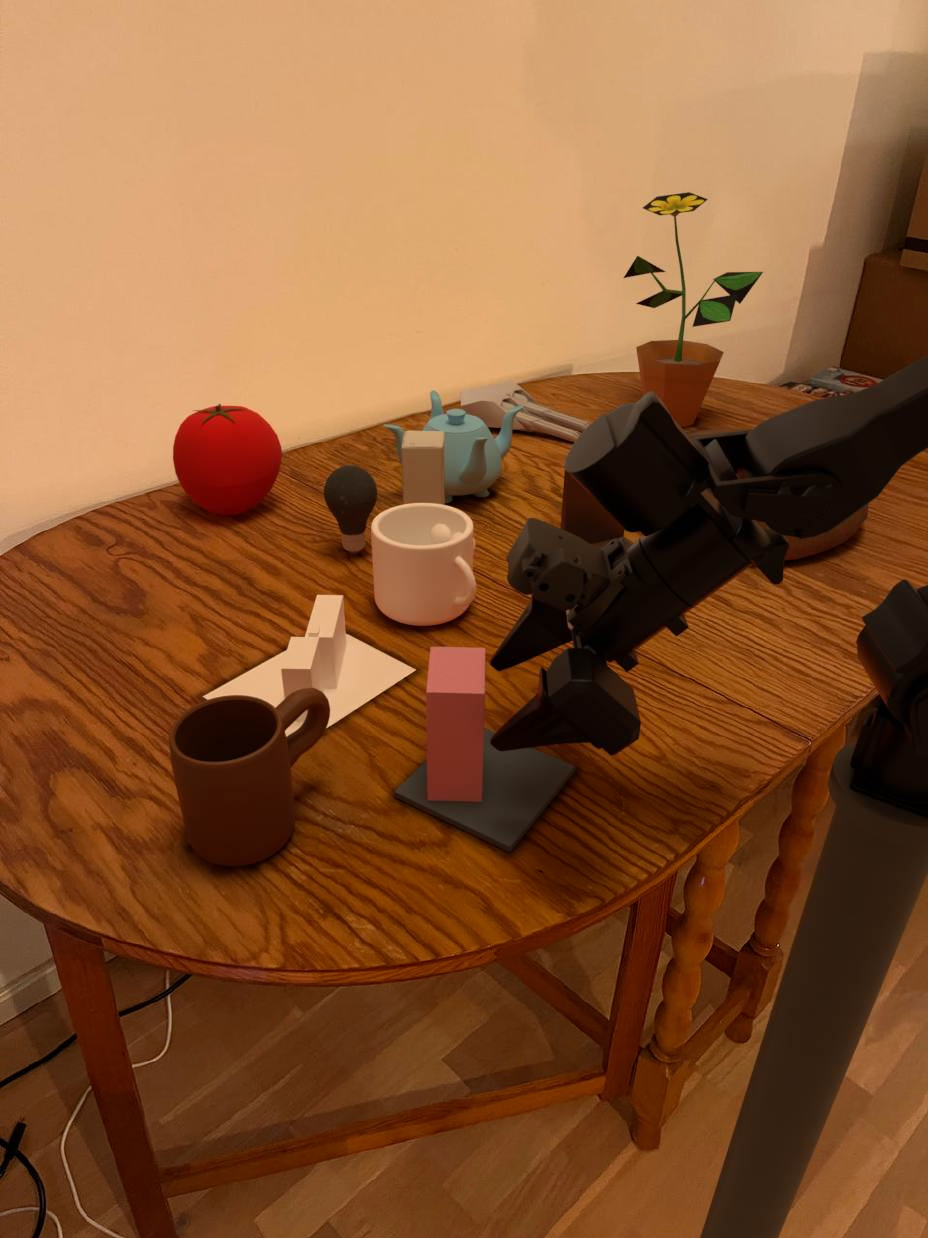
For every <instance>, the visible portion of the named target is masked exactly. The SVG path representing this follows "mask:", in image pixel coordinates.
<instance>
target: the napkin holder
mask: <svg viewBox="0 0 928 1238" xmlns="http://www.w3.org/2000/svg"><path fill="white" fill-rule="evenodd" d="M345 617H346V616H345V601H344V594H317V595H316V597H315V601H314V604H313V607H312V611H311V614H310V617H309V621H308V625H307V627H306V630H305V634H304V636H290V639H289V642H288V645H287V649H286V650H284V651H282V652H280V653H278V654H277V655H275V656H273V657H271V658H269V659H267V660H266V661H264V662H262V663H260V664H259V665H257V666H255V667H252V669H249V670H247V671H246V672H244V673H242V674H240V675H239V676H237V677H235V678H233V679H232V680H230V681H227V682H226V683H225V684H222V685H221V686H219V687H217V688H216V689H214V690H212V691H209V692H208V693H207V694H205V695H202V698H204V699H205V700H209V699H212V698H216V697H221V696H229V695H245V696H252V697H256V698H259V699H262V700H264V701H266V702H268V703H270V704H271V705H273V706H274V707H275V708H276V707H277V706H278V705H279V704H280V703H281V702H282V701H283V700H284V699H285V698H286V697H287V696H288V695H289V694H291V693H293V692H295V691H297V690H300V689H304V688H312V687H313V688H315V689H318V690H320V691H322V692H323V693H324V694H325V696H326V697H327V699H328V701H329V705H330V718H329V722H328V725H327V727H326V729H328V728H329V727H331V726H332V725H334V724H336V723H337V722H339V721H340V720H342V719H343V718H345V717H347V716H348V715H349V714H351V713H353V712H354V711H355V710H357V709H359V708H360V707H362V706H364V705H365V704H366V703H368V702H369V701H371V700H372V699H374V698H375V697H377V696H378V695H380V694H381V693H383V692H385V691H387V690H388V689H389V688H391V687H392V686H394V685H395V684H397V683H398V682H400V681H402V680H403V679H404V678H406V677H407V676H409V675H411V674H412V673H414V672H415V671H416V668H413V667H412V666H410V665H408V664H406V663H404V662H402V661H400V660H398V659H397V658H394V657H392V656H391V655H389V654H387V653H385V652H383V651H381V650H379V649H377V648H374V647H373V646H371V645H369V644H367V643H365V642H364V641H361V640H360V639H357V637H354V636H352V635H350V634H348V633H347V631H346V618H345ZM307 712H308V710H306V711H305V712H304V713H303V714H302V715H301V716H300V717H299V718H297V719H296V720H295V721H294V722H293V723H292V724H291V725H290V726H289V727H288V728H287V729H286V730H285V734H286V737H287V736H288V735H290V734H291V733H293V732H295V731H296V730H298V729H299V728H300V727H301V726H302V724H303V723H304V721H305V719H306V716H307Z"/></svg>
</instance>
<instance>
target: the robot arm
mask: <svg viewBox="0 0 928 1238" xmlns="http://www.w3.org/2000/svg"><path fill="white" fill-rule="evenodd" d="M751 429H752V430H745V431H736V432H728V433H720V434H711V435H703V436H695V437H692V438H690V437H689V435H688V434H687V433H686V432H687V431H685V430H684V429H683V427H680V426H679V424H678V423H677V422H676V421H675V420H674V419H673V418H672V416H671V415H670V413H669V411H668V409H667V407H666V405H665V404H664V403H663V401H662V400H661V399H660V398H659V397H658V396H657V395H656V394H655V392H648V393H647V394H646V395H645V396H643V395H642V397H641V398H639V400H637V401H636V402H628V403H625V404H622V405H620V406H618V407H616V408H615V409H613V410H611V411H610V412H608V413H607V414H605V413H601V415H599V416H598V417H597V418H596V419H594V420H593V421H592V422H591V424H590V425H589V426H588V427H587V428H586V429H585V430H584V432H581V435H580V436H579V437H578V439H577V440H576V441H575V442H573V444H572V446H571V447H570V448H569V450H568V452H567V454H566V457H565V460H564V463H563V464H564V465H563V466H564V467H563V468H564V471H565V470H566V471H567V472H568V473H569V474H570V475H571V476H572V477H573V478H574V479H575V480H576V481H577V482H578V483H579V484H580V485H581V486H582V487H583V488H584V489H585V490H586V491H587V492H588V493H589V494H590V495H591V496H592V497H593V498H594V499H595V500H596V501H597V502H598V503H599V504H600V505H601V506H602V507H603V508H604V509H605V510H606V511H607V512H608V513H609V514H610V515H611V516H612V517H613V518H614V519H615V520H616V521H617V522H618V523H619V524H620V525H621V526H622V527H623V528H624V529H625V530H624V531H626V532H628V533H641V534H642V536H641V537H639V538H638V539H636V540H635V541H633V544H632V545H631V544H630V543H629V542H628V541H627V540H626V539H625V538H624V537H625V536H624V537H622V538H621V539H619V540H617V539H613V540H612V541H611V542H609V543H608V544H607V545H605V546H604V547H602V548H601V549H599V548H597V547H595V546H593V545H591V544H589V543H587V542H586V541H585V540H583V539H582V538H580V537H578V536H576V535H573V534H571V533H569V532H567V531H564V530H562V529H560V527H557V526H555V525H553V524H551V523H548V522H546V521H544V520H542V519H540V518H536V517H528V519H526V521H525V523H524V525H523V527H522V528H521V530H520V532H519V534H517V535H518V536H517V537H516V539H515V540H514V542H513V544H512V545H511V548H510V550H509V551H508V553H507V555H506V558H505V559H506V562H507V568H508V569H507V575H506V580H507V583H508V585H509V586H510V587H511V588H513V589H514V590H515V591H517V592H518V593H520V594H522V595H525V596H529V595H530V600H529V602H528V604H526V607H525V609H524V610H523V611H522V613H521V614H520V616H519V618H518V619H517V620H516V622H515V623H514V625H513V626H512V627H511V629H510V631H508V633H507V635H506V636H505V638H504V639H503V641H502V642H501V643H500V645H499V646H498V647H497V649H496V650H495V652H494V653H493V654H492V656H491V658H490V659H489V665H490V666H491V668H493V669H494V670H495V671H497V672H502V671H505V670H508V669H510V668H513V667H516V666H519V665H520V664H523V663H525V662H528V661H530V660H533V659H534V658H537V657H539V656H541V655H543V654H546V653H548V652H550V651H553V650H555V649H556V648H560V647H561V646H564V645H566V644H568V643H570V642H572V646H573V647H567V648H565V649H564V650H563V651H562V652H560V653H559V654H558V655H556V656H555V657H554V658H553V660H552V662H551V664H550V665H549V667H548V669H547V670H546V669H545V668H544V667H543V666H541V667H540V668H539V674H538V688H537V693H535V695H533V697H531V699H529V700H528V701H527V702H526V703H525V705H523V706H522V707H521V708H519V710H518V711H517V712H515V713H514V715H512V717H510V718H509V719H508V720H506V722H505V723H504V724H503V725H502V726H501V727H499V729H498V730H497V731H496V732H495V734H494V735H493V737H492V738H491V739H490V744H491V745H492V746H493V747H494V748H496V749H497V750H498V751H509V750H516V749H523V748H537V747H544V746H552V745H566V744H587V743H588V744H591V746H593V747H594V748H595V749H597V750H601V749H602V750H603V751H604V752H606V753H607V755H608V756H617V754H619V753H620V752H622V751H624V750H625V749H626V748H628V747H630V746H631V745H632V744H634V743H635V742H636V741H638V740H639V739H640V734H641V726H642V720H641V717H640V711H639V708H638V703H637V698H636V694H635V690H634V688H633V687H632V686H631V685H630V684H628V683H627V682H626V681H625V680H624V679H623V678H622V677H621V676H620V675H618V674H617V672H615V671H614V670H613V669H612V668H611V667H610V666H609V665H608V664H612V663H613V662H615V663H616V664H617V665H618V666H619V667H620V668H622V670H624V672H626V673H628V672H629V671H631V670H632V669H634V668H636V666H638V665H639V664H640V663H639V659H638V655H637V650H638V649H639V648H641V647H642V646H643V645H645V644H646V643H648V642H649V641H650V640H652V639H653V638H655V637H656V636H658V635H659V634H660V633H662V632H663V631H664V630H666V629H668V631H669V632H671V633H672V635H674V636H675V637H678V636H680V635H681V634H682V633H684V632H686V631H687V630H688V629H689V624H688V621H687V618H686V614H687V613H689V612H691V611H692V610H693V609H694V608H696V607H697V606H698V605H700V604H701V603H702V602H704V601H705V600H707V599H708V598H709V597H711V596H712V595H714V594H715V593H716V592H718V591H719V590H720V589H722V588H723V587H724V586H726V585H727V584H729V583H730V582H731V581H733V580H734V579H735V578H737V577H738V576H740V575H741V574H742V573H743V572H745V571H747V570H748V569H749V568H750V567H752V566H753V565H754V566H755V567H756V568H757V569H758V570H759V571H760V573H761V574H763V575H764V577H765V578H766V579H767V580H768V581H769V582H770V583H771V584H772V585H780V584H781V583H783V581H784V571H785V561H786V560H785V555H786V552H787V550H788V548H789V543H788V541H787V539H786V538H785V536H784V535H786V536H792V537H798V538H799V539H809V538H814V537H816V536H819V535H822V534H824V533H827V532H829V531H830V530H832V529H834V528H835V527H837V526H838V525H839V524H841V523H842V522H843V521H845V520H846V519H848V518H849V517H850V516H852V515H853V514H855V513H856V512H857V511H859V510H860V509H861V508H863V507H864V506H866V505H867V504H868V503H869V504H870V503H871V502H873V501H874V500H876V499H877V498H878V497H879V496H880V495H881V493H882V492H883V491H884V489H885V488H886V487H887V486H888V484H889V483H890V481H891V480H892V479H893V478H894V477H895V476H896V474H897V473H898V471H899V470H900V469H901V468H902V467H903V466H905V464H907V463H909V461H911V460H912V459H913V458H915V457H916V456H918V455H919V454H920V453H922V452H925V451H926V450H928V354H926V355H925V356H922V357H921V358H919V359H918V360H915V361H914V362H912V363H910V364H908V365H907V366H906V367H904V368H901V369H900V370H898V371H897V372H895V373H893V374H891V375H890V376H888V377H886V378H884V379H883V380H881V381H879V382H877V383H875V384H874V385H871V386H868V387H866V388H863V389H861V390H858V391H855V392H852V393H847V394H841V395H835V396H829V397H824V398H818V399H814V400H811V401H809V402H806V403H804V404H801V405H799V406H797V407H794V408H792V409H789V410H787V411H784V412H782V413H779V414H777V415H774V416H773V417H769V418H767V419H765V420H763V421H761V422H760V423H758V424H757V425H756V426H755V427H753V428H751ZM736 473H737V474H738V476H739V478H740V479H738V477H737V475H736ZM708 488H710V489H711V491H712V493H713V495H714V497H715V498H716V499H717V500H718V501H717V500H716V499H715V498H714V497H713V496H712V495H711V494H710V493H709V492H708V491H707V490H706V489H708ZM755 520H756V521H761V522H765V523H766V524H767V526H768V527H769V528H764V527H760V526H759V525H758V524H757V522H756V521H755ZM861 620H862V622H863V623H864V627H863V628H862V629H861V631H860V632H859V634H858V636H857V637H856V641H855V644H856V652H857V653H856V654H857V655H856V656H857V659H858V661H859V662H860V664H861V666H862V667H863V669H864V671H865V673H866V674H867V676H868V677H869V679H870V681H871V682H872V684H873V687H875V690H876V691H877V693H878V694H879V696H880V697H881V698H880V700H879V703H878V705H877V708H876V707H870V708H869V709H868V710H867V712H866V715H865V717H864V719H863V721H862V724H861V727H860V729H859V734H858V737H857V739H856V741H857V743H856V746H855V749H854V752H853V755H852V759H851V762H850V766H851V767H852V768H854V769H855V771H854V773H853V776H852V778H851V781H850V784H849V787H850V789H851V790H853V791H855V792H858V793H860V794H863V795H866V796H869V797H871V798H874V799H877V800H879V801H882V802H885V803H887V804H890V805H893V806H895V807H898V808H901V809H903V810H906V811H909V812H912V813H914V814H917V815H920V816H922V817H925V818H928V584H926V585H924V586H920V587H915V585H913V584H912V583H911V582H910V581H909V580H908V579H901V580H900V581H898V582H897V583H895V584H894V586H893V587H892V588H891V590H890V591H889V593H888V594H887V595H886V597H885V598H884V599H883V600H882V601H881V603H880V604H879V605H878V606H877V607H876V608H875V609H872V610H871V611H869V612H867V613H866V614H864V615H863V616H861Z"/></svg>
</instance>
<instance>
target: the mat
mask: <svg viewBox="0 0 928 1238" xmlns="http://www.w3.org/2000/svg"><path fill="white" fill-rule="evenodd" d="M495 733H496V732H494V731H492V730H490V729H487V728H485V727H484V751H483V785H482V802H464V801H428V799H427V759H426V760H424V762H423V763H422V764H421V765H420V766H419V767H418V768H417V769H416V770H415V771H413V773H412V774H410V776H408V778H406V780H405V781H404V782H402V783H401V785H399V786H398V787H397V788H396V789H395V790H394V791H393V793H394V794H393V795H394V796H393V797H394V798H396V799H398V800H400V801H402V802H404V803H405V804H408V805H410V806H412V807H414V808H416V809H419V810H421V811H423V812H425V813H427V814H429V815H431V816H433V817H435V818H437V819H439V820H441V821H443V822H445V823H448V824H450V825H452V826H454V827H455V828H458V829H460V830H462V831H464V832H466V833H469V834H470V835H473V836H474V837H476V838H479V839H481V840H483V841H485V842H487V843H489V844H491V845H494V846H495V847H497V848H499V849H502V850H504V851H506V852H508V853H511V852H512V851H513V849H514V848H515V847H516V846H517V844H518V843H519V842H520V841H521V840H522V838H523V837H524V836H525V835H526V833H527V832H528V831H529V829H530V828H531V827H532V826H533V825H534V823H535V822H536V821H537V820H538V818H539V817H540V816H541V814H543V812H544V811H545V809H546V808H547V807H548V806H549V805H550V803H551V802H552V801H553V799H554V798H555V797H556V796H557V794H558V793H559V792H560V791H561V790H562V788H563V787H564V786H565V784H566V783H567V782H568V781H569V779H570V778H571V777H572V776H573V774H574V773H575V772H576V765H574V764H572V763H569V762H566V761H565V760H562V759H559V758H558V757H556V756H552V755H550V754H547V753H545V752H543V751H540V750H538V749H536V748H534V747H531V748H523V749H516V750H509V751H498V750H497V749H496V748H494V747H493V746H492V745H491V744H490V739H491V738H492V737H493V735H494V734H495Z"/></svg>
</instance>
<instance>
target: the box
mask: <svg viewBox="0 0 928 1238" xmlns="http://www.w3.org/2000/svg"><path fill="white" fill-rule="evenodd" d="M401 455H402V464H401V485H402V487H401V488H402V505H404V504H411V503H435V504H442V505H446V503H445V468H444V431H422V430H409V429H408V430H404V436H403V441H402V447H401Z"/></svg>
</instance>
